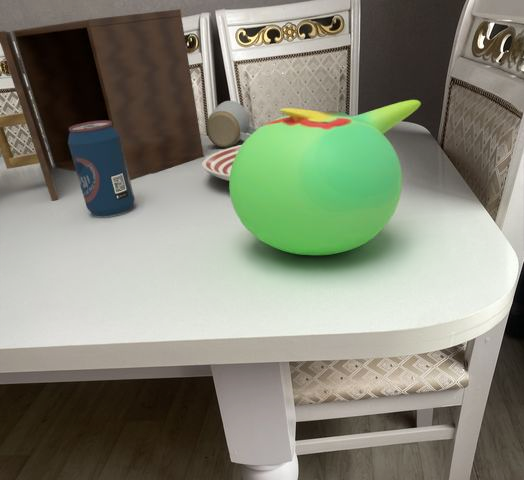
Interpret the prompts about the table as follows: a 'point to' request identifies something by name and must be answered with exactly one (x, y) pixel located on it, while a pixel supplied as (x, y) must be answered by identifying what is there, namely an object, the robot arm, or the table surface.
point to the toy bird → (319, 179)
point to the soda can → (101, 168)
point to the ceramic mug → (229, 124)
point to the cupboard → (115, 86)
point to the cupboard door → (24, 121)
